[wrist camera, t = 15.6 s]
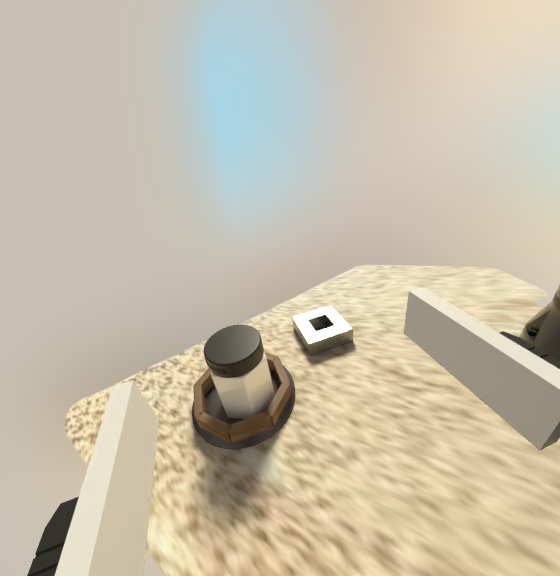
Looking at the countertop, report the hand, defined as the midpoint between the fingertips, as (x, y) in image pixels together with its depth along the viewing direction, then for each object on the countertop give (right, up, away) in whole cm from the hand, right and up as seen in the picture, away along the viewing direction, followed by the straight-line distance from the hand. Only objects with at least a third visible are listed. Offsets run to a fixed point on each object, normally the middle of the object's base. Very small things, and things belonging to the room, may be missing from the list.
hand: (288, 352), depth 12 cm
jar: (-5, -15, +30) cm, 34 cm away
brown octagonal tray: (-6, -15, +31) cm, 35 cm away
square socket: (+8, -7, +41) cm, 43 cm away
